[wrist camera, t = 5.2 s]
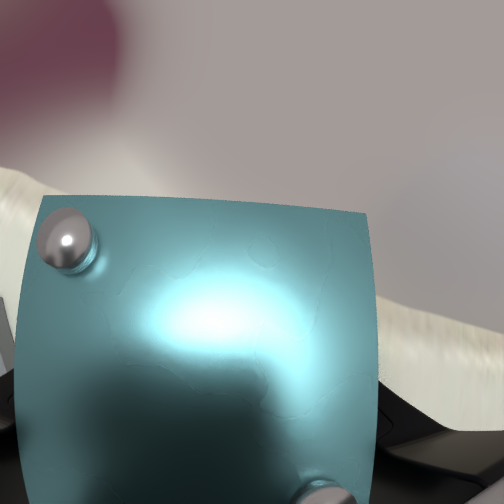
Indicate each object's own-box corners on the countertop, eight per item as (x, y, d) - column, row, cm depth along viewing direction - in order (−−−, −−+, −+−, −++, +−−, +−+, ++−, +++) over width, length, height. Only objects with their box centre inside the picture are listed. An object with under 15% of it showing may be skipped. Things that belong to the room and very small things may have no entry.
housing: (257, 414, 13) (375, 541, 2) (152, 409, 12) (18, 516, 2) (258, 314, 15) (377, 201, 4) (156, 309, 14) (32, 182, 3)
